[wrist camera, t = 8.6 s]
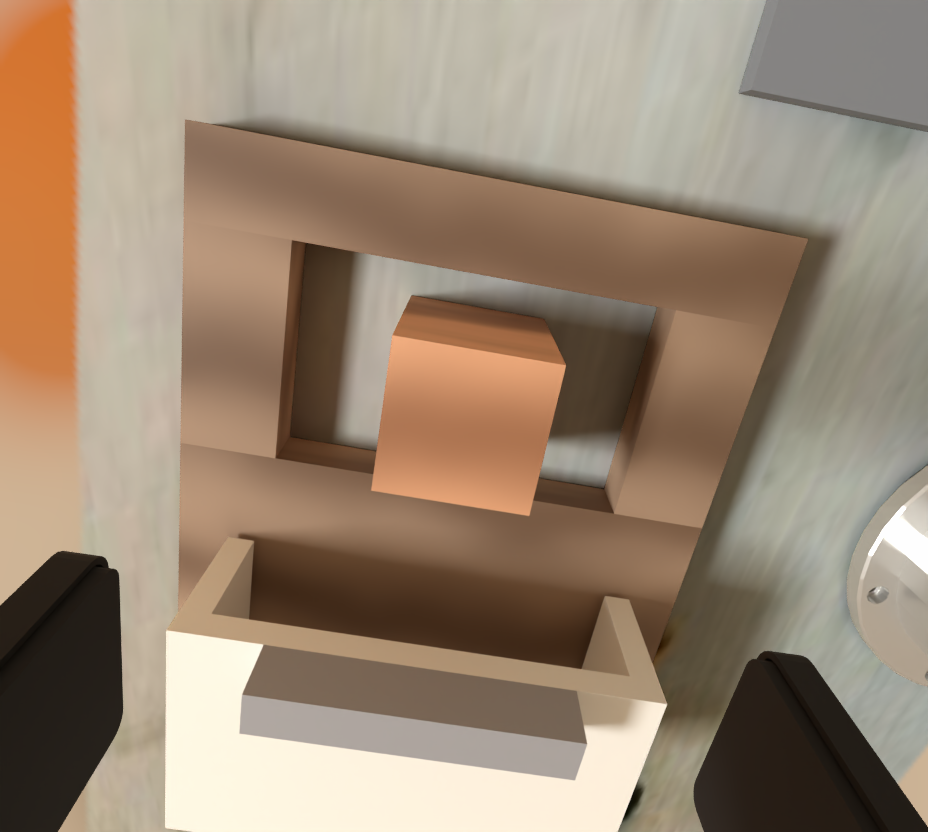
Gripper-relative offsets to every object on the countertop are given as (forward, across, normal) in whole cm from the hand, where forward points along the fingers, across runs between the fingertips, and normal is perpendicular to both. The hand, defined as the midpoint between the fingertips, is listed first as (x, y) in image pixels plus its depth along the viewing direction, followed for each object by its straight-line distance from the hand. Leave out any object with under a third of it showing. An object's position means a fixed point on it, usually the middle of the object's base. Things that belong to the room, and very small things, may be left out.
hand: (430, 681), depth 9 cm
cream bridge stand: (+14, -1, +12) cm, 18 cm away
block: (+16, -1, 0) cm, 16 cm away
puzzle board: (+16, -1, +5) cm, 17 cm away
